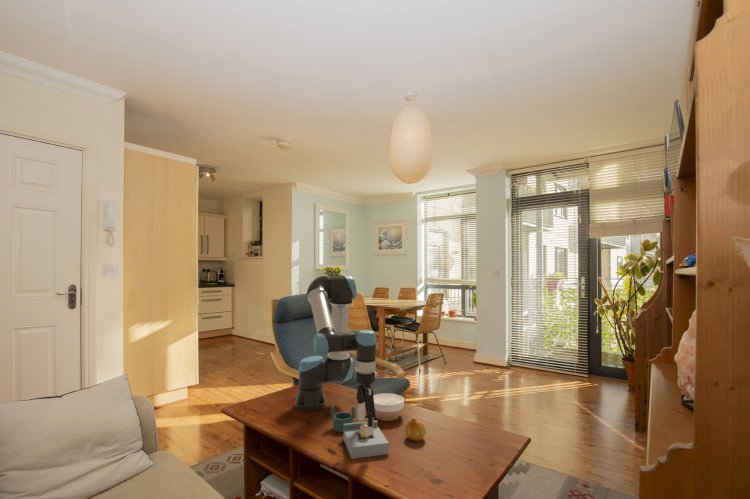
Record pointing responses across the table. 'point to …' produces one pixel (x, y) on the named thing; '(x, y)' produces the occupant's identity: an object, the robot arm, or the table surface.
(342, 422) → the bracket
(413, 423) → the fruit
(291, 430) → the table surface
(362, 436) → the brass cylinder
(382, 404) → the bowl
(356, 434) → the jig
